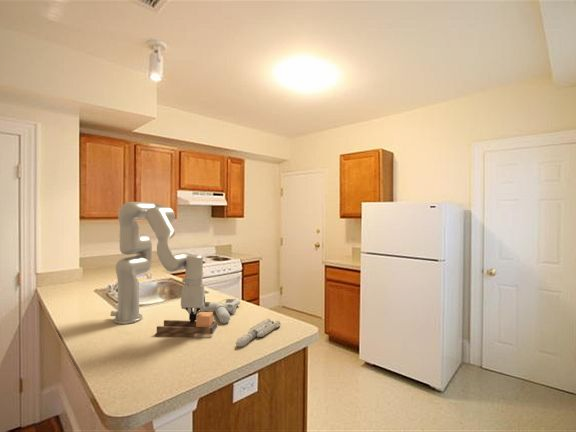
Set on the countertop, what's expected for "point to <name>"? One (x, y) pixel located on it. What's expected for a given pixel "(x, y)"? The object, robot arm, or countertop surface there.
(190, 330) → the chute
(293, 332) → the countertop surface
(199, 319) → the block
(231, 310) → the gun
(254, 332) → the rocket model
